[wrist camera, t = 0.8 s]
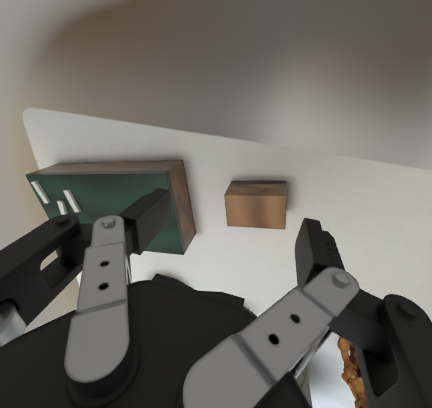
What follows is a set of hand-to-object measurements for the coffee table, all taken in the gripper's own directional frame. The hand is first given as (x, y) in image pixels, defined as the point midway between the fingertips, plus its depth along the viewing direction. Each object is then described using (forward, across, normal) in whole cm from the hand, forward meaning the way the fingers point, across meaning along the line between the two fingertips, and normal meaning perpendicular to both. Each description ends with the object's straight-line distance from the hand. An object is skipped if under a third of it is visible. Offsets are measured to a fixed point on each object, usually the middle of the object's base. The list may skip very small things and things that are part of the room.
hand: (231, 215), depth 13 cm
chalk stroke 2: (+13, +30, +15) cm, 36 cm away
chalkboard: (+19, +23, +14) cm, 33 cm away
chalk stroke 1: (+13, +34, +12) cm, 38 cm away
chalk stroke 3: (+13, +28, +12) cm, 33 cm away
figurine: (+20, -24, +36) cm, 48 cm away
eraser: (+19, -1, +8) cm, 21 cm away
